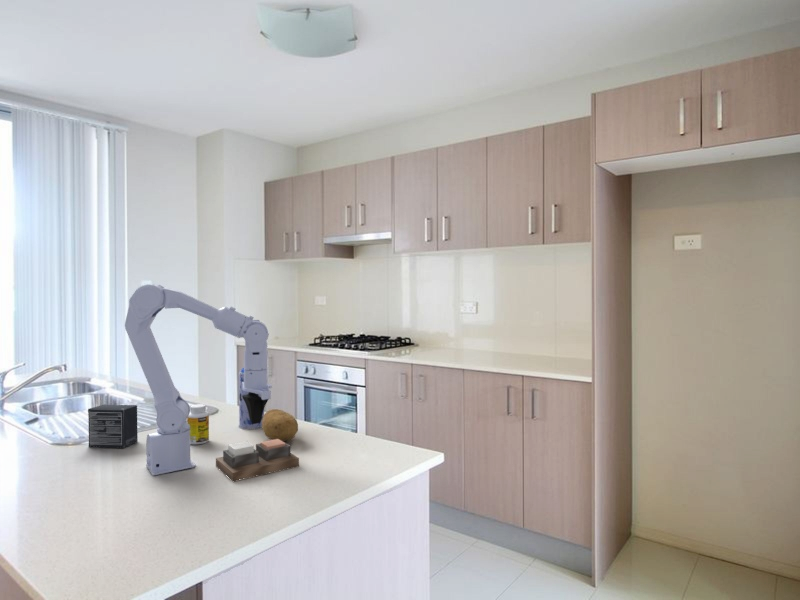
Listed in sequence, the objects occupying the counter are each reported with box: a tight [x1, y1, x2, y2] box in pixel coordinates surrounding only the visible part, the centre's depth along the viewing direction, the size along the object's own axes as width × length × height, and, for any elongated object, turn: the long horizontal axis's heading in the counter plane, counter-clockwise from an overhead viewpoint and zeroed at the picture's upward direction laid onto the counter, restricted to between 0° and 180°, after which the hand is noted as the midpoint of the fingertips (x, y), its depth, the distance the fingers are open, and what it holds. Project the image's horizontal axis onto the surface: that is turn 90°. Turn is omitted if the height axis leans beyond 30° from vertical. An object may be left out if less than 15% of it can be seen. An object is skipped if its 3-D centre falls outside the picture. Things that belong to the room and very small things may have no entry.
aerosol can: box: [238, 367, 265, 430], centre depth 156 cm, size 8×8×20 cm
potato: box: [261, 408, 299, 442], centre depth 142 cm, size 10×14×8 cm
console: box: [215, 441, 300, 482], centre depth 121 cm, size 16×12×4 cm
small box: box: [87, 404, 138, 449], centre depth 138 cm, size 11×6×10 cm, turn 84°
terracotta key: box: [260, 439, 287, 450], centre depth 124 cm, size 4×4×2 cm
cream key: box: [227, 440, 255, 457], centre depth 119 cm, size 4×4×2 cm
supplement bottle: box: [186, 403, 210, 445], centre depth 140 cm, size 6×6×10 cm
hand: (255, 422), depth 126 cm, fingers closed
